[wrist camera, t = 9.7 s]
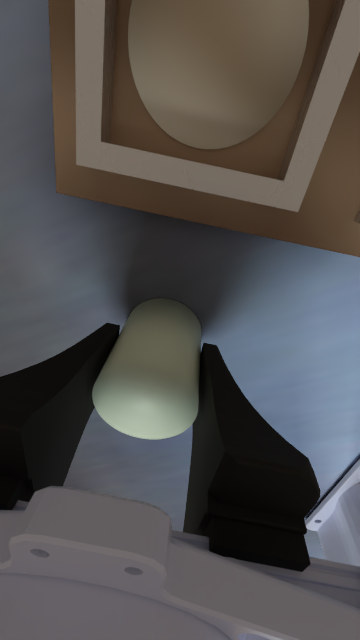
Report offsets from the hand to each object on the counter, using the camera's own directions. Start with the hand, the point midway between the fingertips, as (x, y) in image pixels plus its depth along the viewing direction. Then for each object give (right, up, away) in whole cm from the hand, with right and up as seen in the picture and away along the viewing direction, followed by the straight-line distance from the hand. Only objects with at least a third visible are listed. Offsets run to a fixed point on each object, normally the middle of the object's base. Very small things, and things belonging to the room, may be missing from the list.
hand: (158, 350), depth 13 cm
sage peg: (0, +1, +1) cm, 2 cm away
